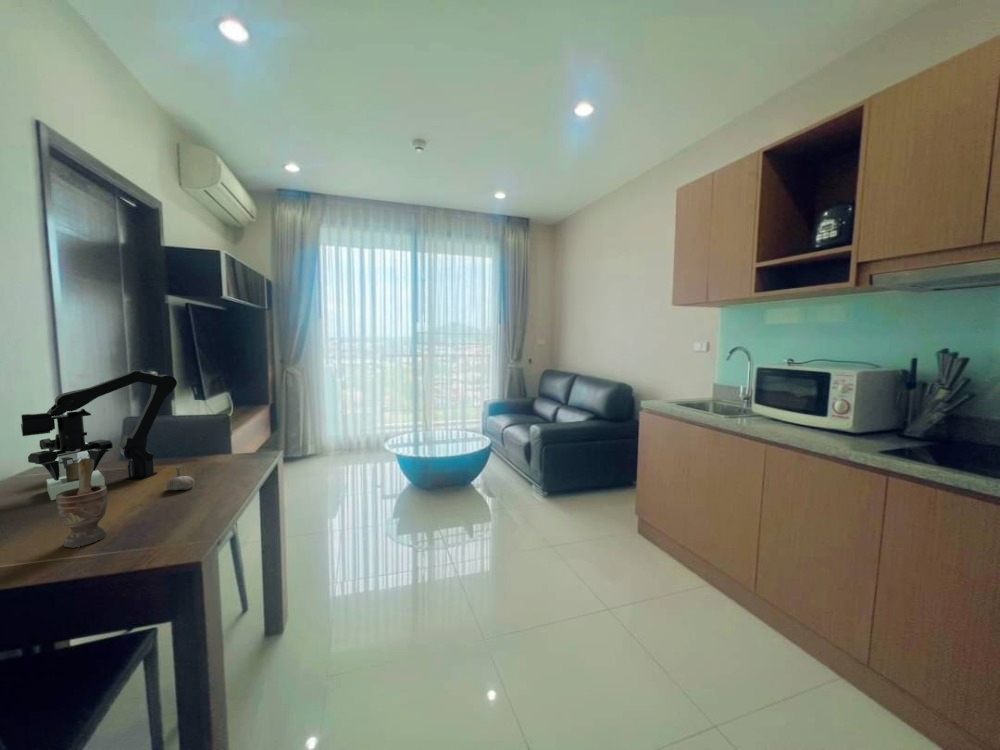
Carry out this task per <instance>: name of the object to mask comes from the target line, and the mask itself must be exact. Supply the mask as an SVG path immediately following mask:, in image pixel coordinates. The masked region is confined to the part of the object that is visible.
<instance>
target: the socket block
mask: <svg viewBox="0 0 1000 750" xmlns="http://www.w3.org/2000/svg"><path fill="white" fill-rule="evenodd" d="M105 481H106V480H105V477H104V475H103V474H102V473H101V472H100V471H99V470H98V469H97V470H96V469H95V471H93V473H92V477H91V486H94V485H97V486H98V485H102V486H106V482H105ZM46 487H47V488H46V490H47V493H48V496H49V499H50V501H54V500H56V495H57V494H59V493H61V492H64V491H67V490H70V489H74V488H79V480H78V481H72V482H67V478H66V476H63V477H61V476H59V480H58V481H56V480H54V478H53V477H52V478H48V479H46Z"/></svg>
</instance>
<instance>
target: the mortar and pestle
mask: <svg viewBox="0 0 1000 750" xmlns="http://www.w3.org/2000/svg"><path fill="white" fill-rule="evenodd" d="M93 469H94V460H93V459H91V458H90V457H89V458H85V459H82V460H80V462H79V464H78V473H79V488H74V489H70V490H67V491H64V492H61V493H59V494H57V495H56V499H55V500H56V501H55V502H56V509H57V515H58V518H59V520H60V523H61V524H62V525H63V526H64V527H66V528H68V529H70V531H71V533H70V534H68V535H67V536H66V537H65V538H64V540H63V543H62V544H63V547H65V548H75V547H78V548H81V547H84V546H88V545H90V544H93V543H96V542H98V540H99V541H100V540H102V539H104V538H105V537H106V536H107V532H106V531H105V529H103V528H102V527H100V526H99V525H98V524H99V522H100V521H102V519H103V518H104V517H105V515H106V511H107V508H108V488H107V485H105V486H102V485H98V486H97V485H94V486H91V477H92V473H93ZM80 546H81V547H80ZM75 549H76V548H75Z"/></svg>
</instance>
